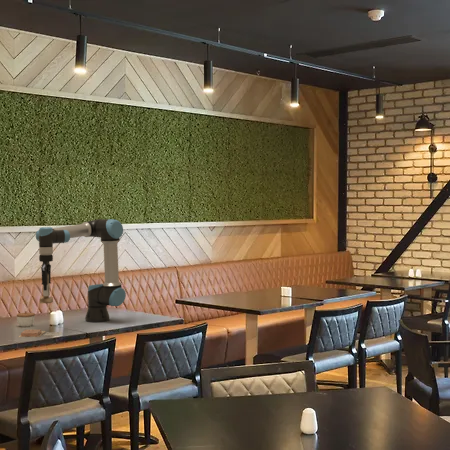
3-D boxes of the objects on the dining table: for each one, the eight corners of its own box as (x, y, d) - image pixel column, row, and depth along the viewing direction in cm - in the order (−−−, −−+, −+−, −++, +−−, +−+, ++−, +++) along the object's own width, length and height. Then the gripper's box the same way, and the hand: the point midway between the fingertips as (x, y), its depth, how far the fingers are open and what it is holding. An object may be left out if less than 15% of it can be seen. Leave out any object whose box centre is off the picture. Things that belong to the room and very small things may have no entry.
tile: (41, 329, 417) (37, 333, 406) (41, 332, 418) (37, 336, 407) (25, 329, 417) (20, 333, 406) (25, 333, 417) (20, 336, 406)
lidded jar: (18, 325, 446) (18, 310, 445) (36, 325, 446) (36, 309, 446) (15, 328, 435) (14, 312, 435) (33, 328, 436) (33, 312, 436)
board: (46, 331, 423) (46, 331, 423) (39, 337, 405) (39, 336, 405) (25, 332, 423) (25, 331, 423) (17, 337, 405) (17, 337, 405)
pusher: (52, 301, 418) (52, 273, 417) (50, 303, 412) (50, 274, 411) (42, 301, 418) (42, 273, 417) (39, 303, 412) (39, 274, 411)
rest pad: (62, 333, 419) (62, 332, 419) (59, 336, 410) (59, 335, 410) (46, 333, 419) (46, 332, 419) (42, 336, 410) (42, 335, 410)
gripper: (42, 253, 422) (43, 293, 423) (35, 255, 406) (36, 297, 407) (55, 253, 422) (56, 293, 423) (49, 255, 406) (49, 297, 407)
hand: (46, 295), depth 415 cm, fingers closed on pusher, 3 cm apart
